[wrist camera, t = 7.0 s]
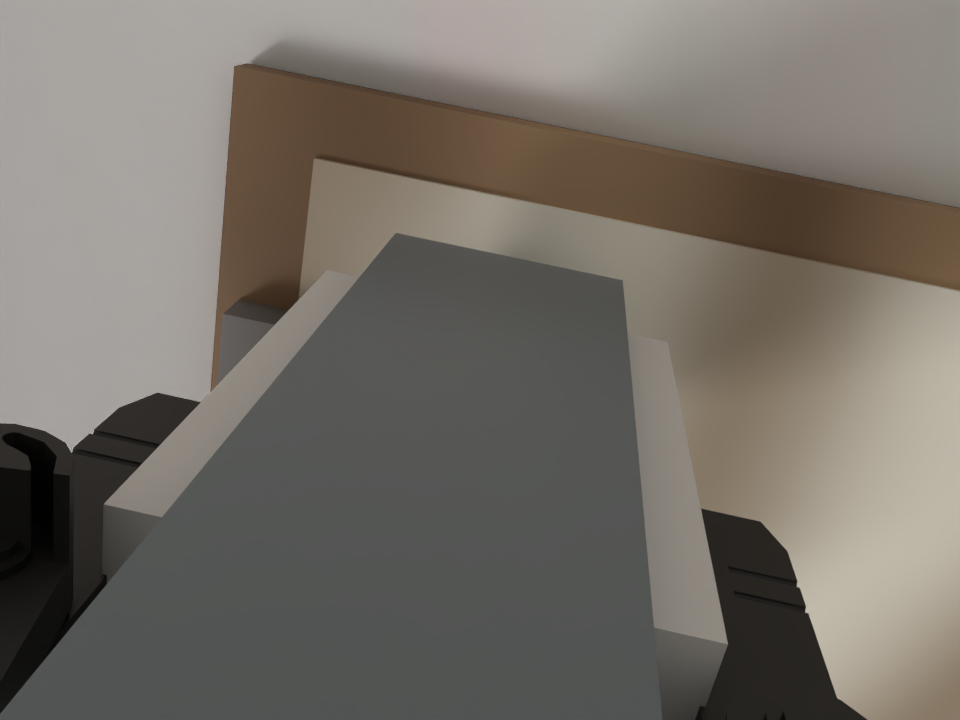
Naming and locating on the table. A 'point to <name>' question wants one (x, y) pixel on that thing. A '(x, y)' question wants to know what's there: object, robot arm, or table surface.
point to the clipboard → (672, 326)
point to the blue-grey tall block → (399, 523)
